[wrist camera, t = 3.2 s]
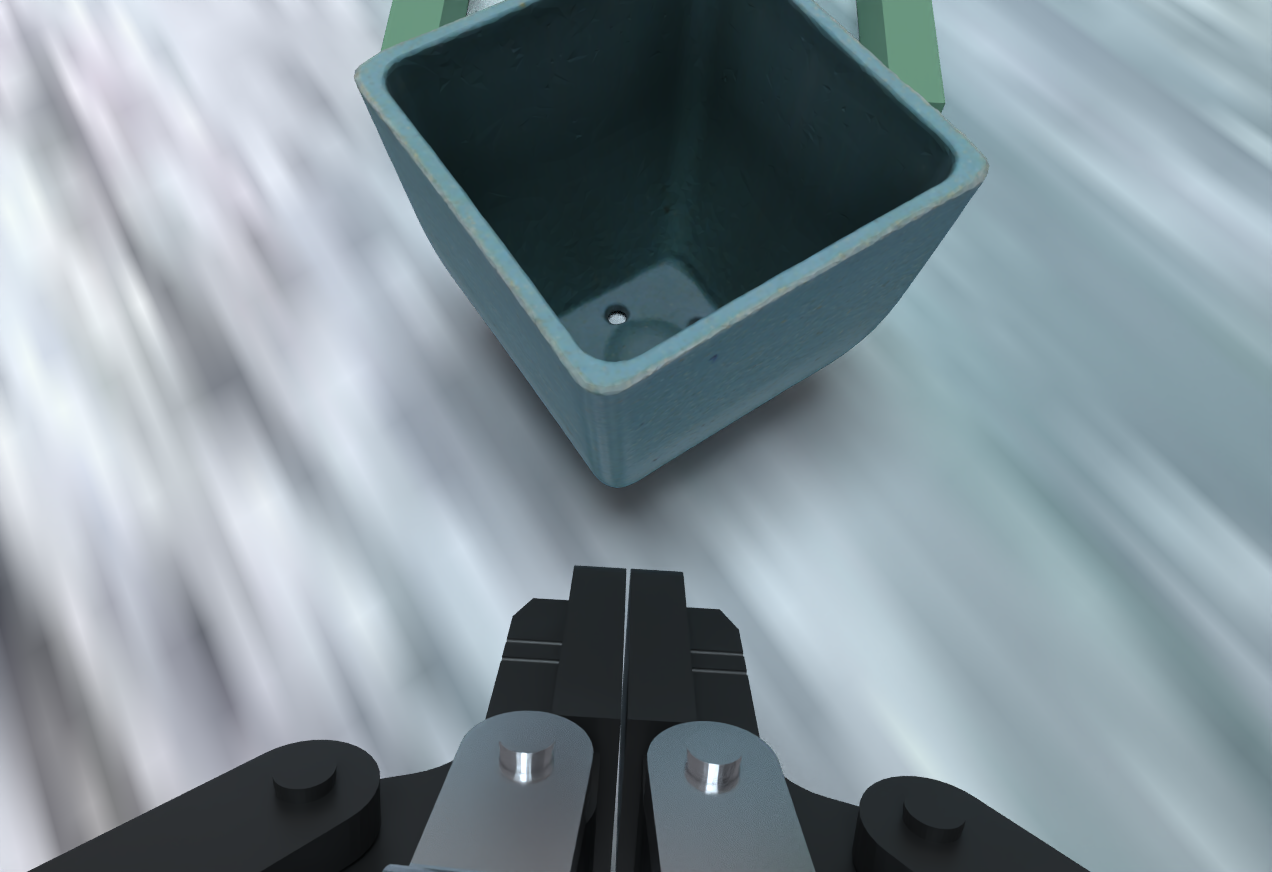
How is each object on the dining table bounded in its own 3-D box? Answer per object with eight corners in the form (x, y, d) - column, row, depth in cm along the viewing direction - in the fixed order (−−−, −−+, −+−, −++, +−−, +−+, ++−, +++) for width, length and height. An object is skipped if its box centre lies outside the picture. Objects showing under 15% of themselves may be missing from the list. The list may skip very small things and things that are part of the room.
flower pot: (422, 323, 26) (339, 59, 18) (684, 187, 28) (716, -100, 20) (598, 581, 23) (594, 402, 15) (876, 404, 25) (1004, 167, 17)
